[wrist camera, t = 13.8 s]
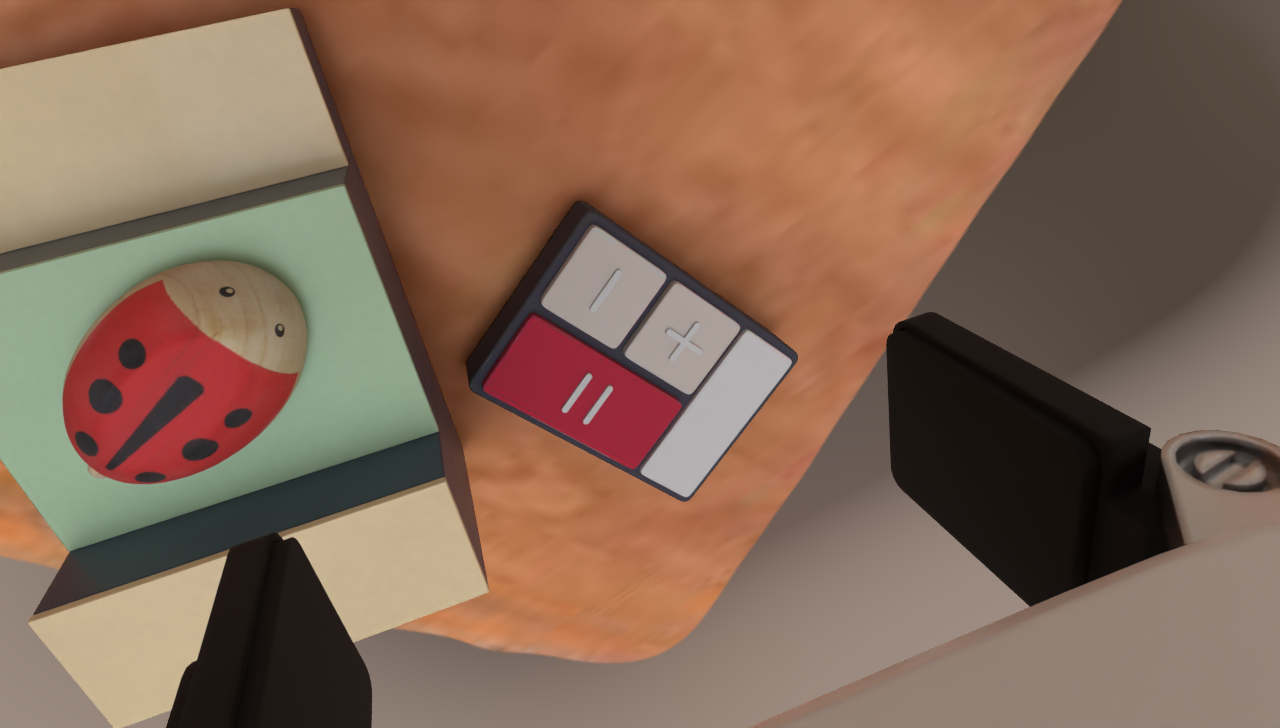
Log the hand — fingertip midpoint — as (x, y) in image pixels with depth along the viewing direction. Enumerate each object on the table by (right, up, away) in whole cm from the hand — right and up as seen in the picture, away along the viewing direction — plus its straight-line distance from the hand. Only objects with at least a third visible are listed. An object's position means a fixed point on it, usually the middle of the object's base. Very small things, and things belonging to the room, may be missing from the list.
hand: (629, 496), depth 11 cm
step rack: (-19, +5, +24) cm, 31 cm away
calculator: (-1, +3, +31) cm, 32 cm away
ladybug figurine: (-17, +2, +17) cm, 24 cm away
